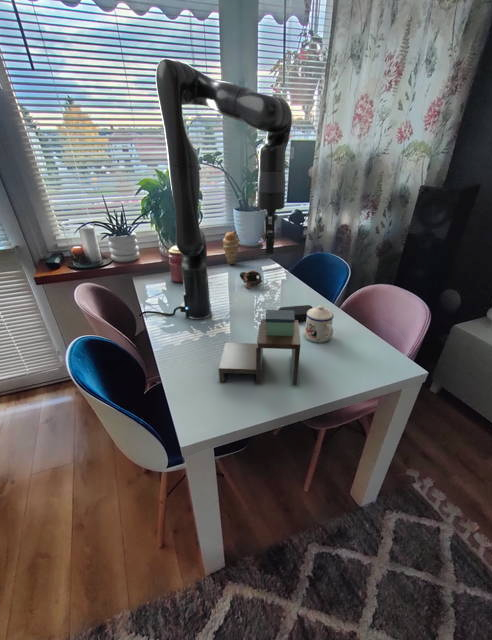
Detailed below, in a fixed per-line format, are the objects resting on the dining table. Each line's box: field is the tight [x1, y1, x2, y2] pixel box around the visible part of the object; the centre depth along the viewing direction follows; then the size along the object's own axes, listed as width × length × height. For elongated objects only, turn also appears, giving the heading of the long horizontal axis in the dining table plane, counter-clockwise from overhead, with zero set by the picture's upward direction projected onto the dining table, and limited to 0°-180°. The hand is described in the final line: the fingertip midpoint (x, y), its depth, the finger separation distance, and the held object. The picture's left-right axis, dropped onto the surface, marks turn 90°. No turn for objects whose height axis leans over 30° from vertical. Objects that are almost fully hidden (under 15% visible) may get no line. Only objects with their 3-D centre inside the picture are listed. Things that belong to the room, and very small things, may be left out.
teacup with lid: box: [304, 304, 335, 343], centre depth 110 cm, size 12×9×12 cm
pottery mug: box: [239, 270, 263, 290], centre depth 154 cm, size 12×10×8 cm
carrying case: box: [277, 304, 314, 322], centre depth 126 cm, size 11×3×15 cm
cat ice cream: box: [222, 229, 240, 265], centre depth 178 cm, size 9×8×18 cm
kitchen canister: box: [167, 245, 183, 283], centre depth 159 cm, size 13×13×18 cm
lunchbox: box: [264, 309, 295, 336], centre depth 89 cm, size 8×6×5 cm
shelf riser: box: [218, 318, 301, 386], centre depth 94 cm, size 22×14×14 cm, turn 86°
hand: (270, 249), depth 98 cm, fingers open, 8 cm apart
